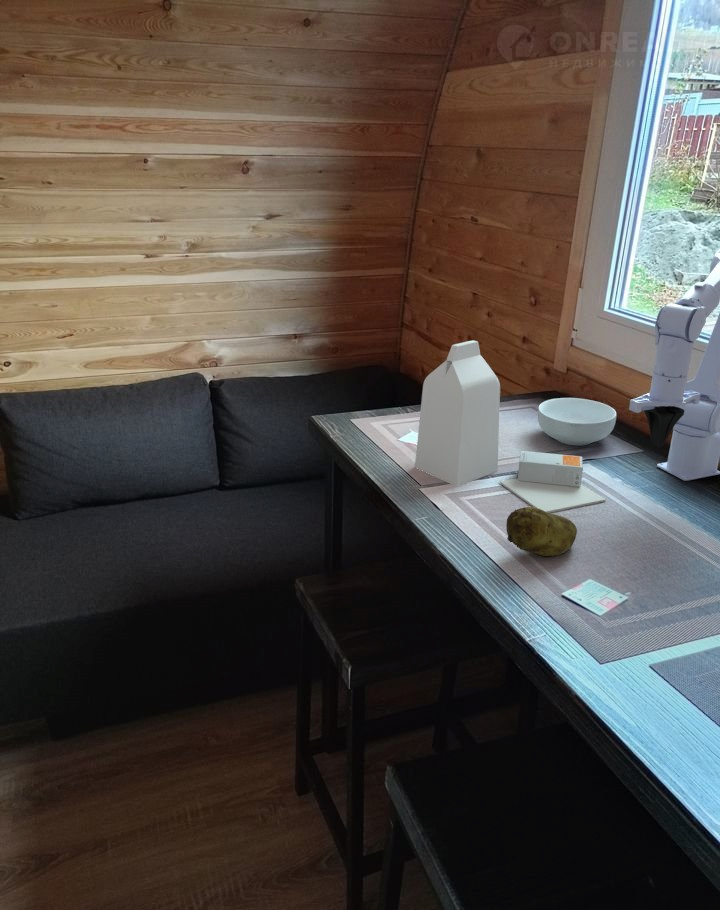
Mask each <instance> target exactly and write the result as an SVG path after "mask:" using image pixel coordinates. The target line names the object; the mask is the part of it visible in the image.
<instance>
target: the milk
mask: <svg viewBox="0 0 720 910" xmlns="http://www.w3.org/2000/svg"><path fill="white" fill-rule="evenodd" d="M480 350H481V349H480V344H479V341H477V340H469V341H467V340H466V341H463V342H459V343H455V344H452V345H451V347H450V350H449V352H448V355H447V357H446V360H445V361H444V362H443V363H441V364H440V365H439V366H438V367H437V368H435V369H434V370H433V371H432V372H430V373H429V374H428V375H427V376H426V377H425V379H424V381H423V384H422V392H421V393H422V394H421V403H420V412H419V413H420V414H419V424H418V433H417V442H416V444H417V445H416V453H415V462H414V468H415V467H416V468H418V469H420V470H423V471H424V472H423V471H422V472H423V473H425V472H427V473H429V474H431V475H430V476H432V475H433V476H432V477H434V476H435V477H434V478H436V477H437V478H436V479H438V478H439V479H438V480H441V481H443V482H446V483H447V484H450V485H452V486H454V487H457V488H458V487H460V486H463V485H466V484H468V483H471V482H473V481H476V480H478V479H480V478H481V479H482V477H483V478H484V477H486V476H488V475H491V474H494V473H496V472H498V470H499V469H498V467H499V465H498V463H499V439H500V438H499V433H500V432H499V431H500V430H499V429H500V405H501V403H500V400H501V398H500V397H501V383H500V380H499V378H498V376H497V375H496V374H495V372H494V371H493V370H492V368H491V367H490V365H489V363H487V362H486V360H485V359H484V358H483V356H482V355H481V351H480ZM416 468H415V469H416ZM418 469H417V470H418ZM420 470H419V471H420ZM427 473H426V474H427ZM429 474H428V475H429Z"/></svg>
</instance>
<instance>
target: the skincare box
mask: <svg viewBox="0 0 720 910" xmlns="http://www.w3.org/2000/svg"><path fill="white" fill-rule="evenodd" d="M583 464H584V463H583V456H579V455H570V454H569V455H567V454H557V453H547V452H540V451H539V452H537V451H527V450H521V451H519V461H518V471H517V478H518V481H525V482H535V483H545V484H554V485H564V486H573V487H581V484H582V479H583V472H584V465H583Z"/></svg>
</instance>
